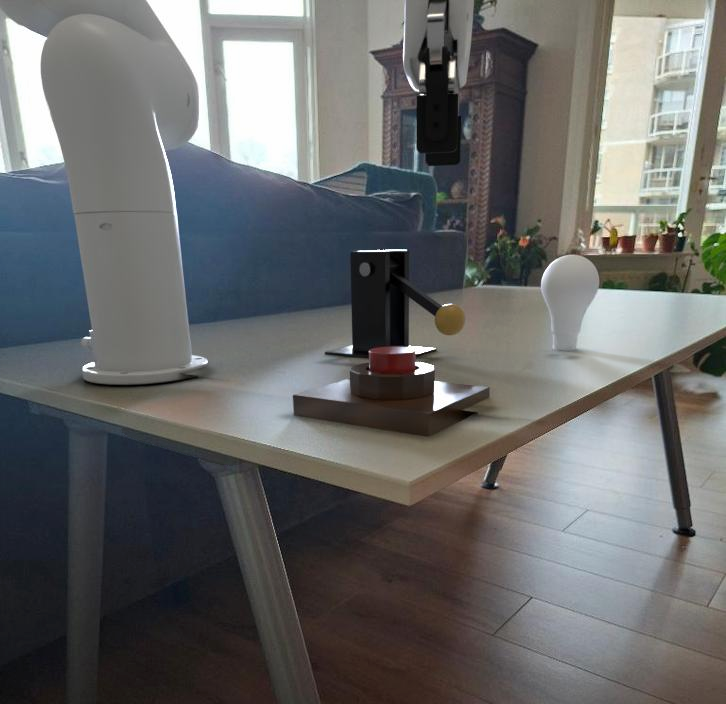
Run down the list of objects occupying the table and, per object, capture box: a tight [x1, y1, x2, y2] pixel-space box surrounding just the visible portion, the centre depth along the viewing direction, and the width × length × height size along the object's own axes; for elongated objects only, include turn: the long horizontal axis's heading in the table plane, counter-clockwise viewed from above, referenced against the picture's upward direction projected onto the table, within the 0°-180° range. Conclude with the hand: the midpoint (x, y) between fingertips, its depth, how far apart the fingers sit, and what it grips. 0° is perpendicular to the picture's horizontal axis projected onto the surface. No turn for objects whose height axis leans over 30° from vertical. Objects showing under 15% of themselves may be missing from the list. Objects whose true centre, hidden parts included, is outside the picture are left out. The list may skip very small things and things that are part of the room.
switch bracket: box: [324, 249, 438, 360], centre depth 74 cm, size 10×8×12 cm
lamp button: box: [368, 347, 417, 373], centre depth 51 cm, size 4×4×2 cm
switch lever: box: [390, 258, 467, 336], centre depth 71 cm, size 13×3×3 cm, turn 55°
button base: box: [292, 361, 491, 438], centre depth 52 cm, size 12×10×4 cm
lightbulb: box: [540, 254, 600, 352], centre depth 74 cm, size 6×6×11 cm
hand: (439, 159), depth 57 cm, fingers open, 9 cm apart
